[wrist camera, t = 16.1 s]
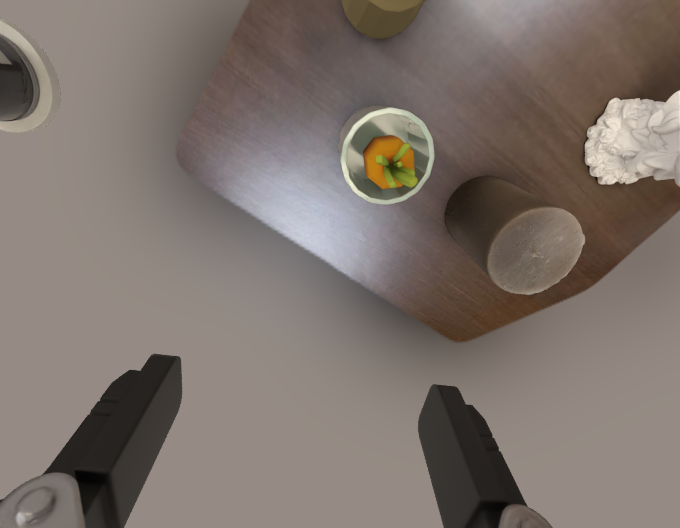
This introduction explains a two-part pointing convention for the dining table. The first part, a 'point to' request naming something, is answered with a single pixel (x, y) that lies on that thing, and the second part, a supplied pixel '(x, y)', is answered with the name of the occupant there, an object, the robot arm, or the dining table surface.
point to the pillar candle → (514, 234)
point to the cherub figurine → (635, 141)
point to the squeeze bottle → (381, 15)
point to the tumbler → (378, 124)
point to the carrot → (389, 162)
